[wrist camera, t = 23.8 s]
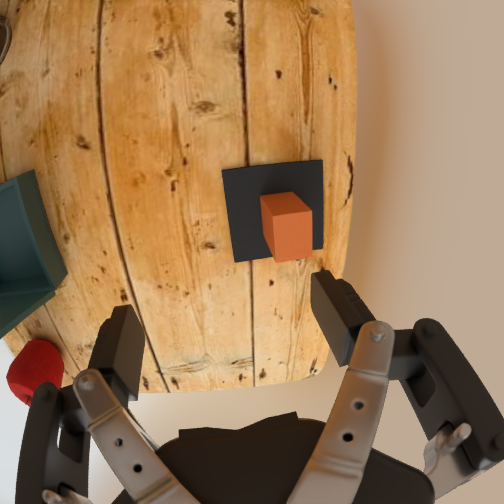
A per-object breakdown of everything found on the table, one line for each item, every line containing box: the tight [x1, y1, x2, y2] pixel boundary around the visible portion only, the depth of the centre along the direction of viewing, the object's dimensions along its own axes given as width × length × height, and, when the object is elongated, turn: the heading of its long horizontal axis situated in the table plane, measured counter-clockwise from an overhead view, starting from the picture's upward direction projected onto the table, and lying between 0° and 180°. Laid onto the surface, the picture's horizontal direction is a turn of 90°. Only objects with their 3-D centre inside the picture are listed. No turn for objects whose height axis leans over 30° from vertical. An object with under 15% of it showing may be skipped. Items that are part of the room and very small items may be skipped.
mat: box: [222, 160, 323, 263], centre depth 34 cm, size 12×12×1 cm
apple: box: [6, 340, 64, 407], centre depth 34 cm, size 11×10×14 cm
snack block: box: [260, 192, 312, 263], centre depth 31 cm, size 5×4×7 cm
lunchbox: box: [0, 169, 68, 297], centre depth 27 cm, size 16×16×4 cm
